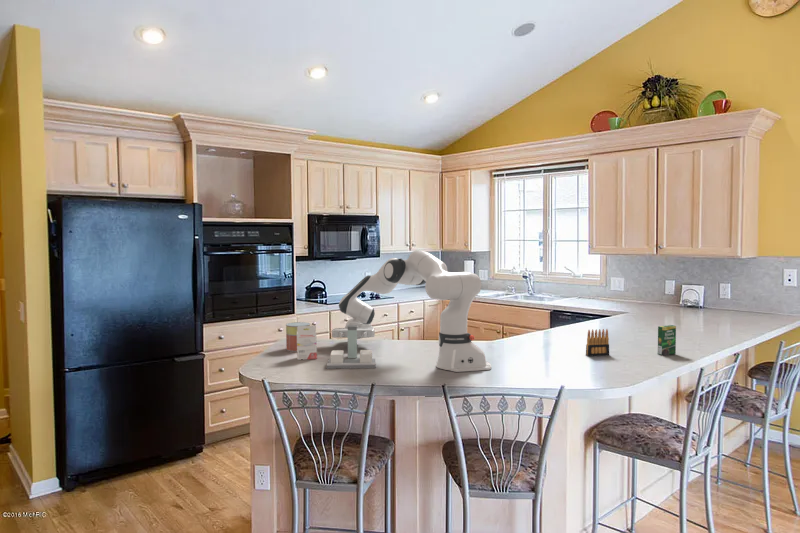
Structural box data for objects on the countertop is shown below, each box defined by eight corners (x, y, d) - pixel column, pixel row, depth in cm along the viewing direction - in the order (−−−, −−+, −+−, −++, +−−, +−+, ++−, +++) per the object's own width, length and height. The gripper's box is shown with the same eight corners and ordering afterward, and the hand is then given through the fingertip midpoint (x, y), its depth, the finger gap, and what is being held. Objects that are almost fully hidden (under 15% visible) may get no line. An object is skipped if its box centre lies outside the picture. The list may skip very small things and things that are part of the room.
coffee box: (661, 355, 256) (662, 326, 255) (656, 354, 259) (657, 325, 258) (676, 354, 258) (676, 325, 258) (671, 353, 261) (672, 324, 260)
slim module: (357, 356, 256) (356, 325, 255) (356, 357, 252) (356, 326, 251) (348, 356, 256) (347, 325, 255) (347, 358, 252) (347, 326, 251)
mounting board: (375, 361, 245) (375, 349, 245) (375, 367, 234) (375, 355, 233) (328, 361, 244) (328, 349, 244) (326, 368, 232) (326, 356, 232)
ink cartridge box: (316, 356, 255) (316, 323, 254) (316, 359, 250) (316, 325, 249) (296, 357, 253) (296, 324, 252) (297, 359, 248) (296, 326, 247)
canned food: (312, 346, 276) (312, 322, 275) (306, 351, 265) (306, 326, 264) (290, 346, 277) (289, 322, 277) (283, 351, 266) (282, 325, 265)
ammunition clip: (587, 356, 255) (588, 329, 254) (585, 355, 256) (586, 329, 256) (609, 355, 257) (610, 329, 256) (607, 354, 259) (607, 328, 258)
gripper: (332, 324, 277) (330, 329, 263) (374, 323, 278) (374, 328, 264) (332, 337, 277) (330, 342, 263) (374, 336, 278) (374, 342, 264)
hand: (353, 335), depth 264 cm, fingers open, 8 cm apart
